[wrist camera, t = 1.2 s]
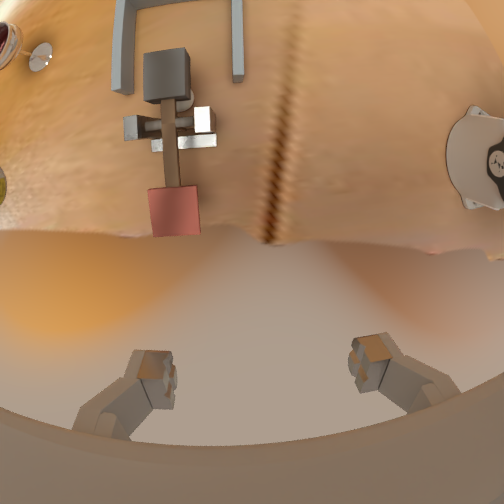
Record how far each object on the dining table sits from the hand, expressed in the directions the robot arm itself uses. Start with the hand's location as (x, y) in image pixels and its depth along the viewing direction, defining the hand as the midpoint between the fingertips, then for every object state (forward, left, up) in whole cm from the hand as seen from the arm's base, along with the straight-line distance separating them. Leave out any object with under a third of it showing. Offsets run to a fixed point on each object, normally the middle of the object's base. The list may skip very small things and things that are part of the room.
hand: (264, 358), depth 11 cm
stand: (+7, -10, -30) cm, 32 cm away
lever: (+7, -8, -29) cm, 31 cm away
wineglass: (+30, -26, -30) cm, 49 cm away
